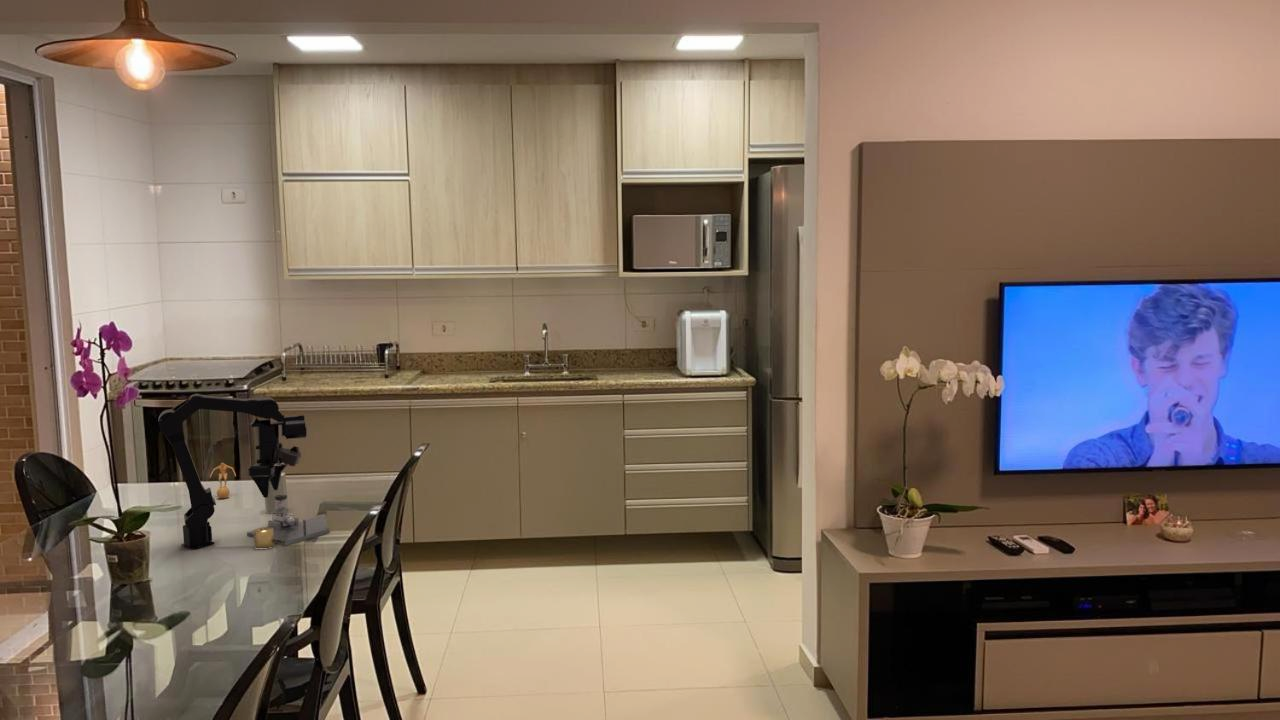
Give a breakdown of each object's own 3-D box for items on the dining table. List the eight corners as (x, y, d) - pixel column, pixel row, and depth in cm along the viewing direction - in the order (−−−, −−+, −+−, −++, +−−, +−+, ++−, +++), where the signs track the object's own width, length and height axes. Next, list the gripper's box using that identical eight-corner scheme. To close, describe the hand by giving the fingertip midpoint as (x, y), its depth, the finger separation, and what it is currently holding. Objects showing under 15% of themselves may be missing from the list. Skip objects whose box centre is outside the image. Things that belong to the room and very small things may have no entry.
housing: (262, 550, 258) (260, 532, 258) (251, 547, 261) (250, 529, 261) (277, 545, 263) (276, 527, 262) (267, 543, 265) (265, 525, 265)
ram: (287, 527, 275) (285, 499, 274) (272, 524, 279) (270, 496, 278) (298, 524, 279) (297, 496, 278) (284, 520, 282) (282, 493, 282)
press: (285, 545, 262) (284, 526, 262) (247, 536, 272) (245, 517, 272) (329, 532, 275) (328, 513, 274) (291, 523, 285) (290, 505, 284)
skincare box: (288, 509, 302) (286, 472, 301) (285, 512, 298) (283, 475, 296) (268, 510, 301) (265, 473, 300) (264, 514, 296) (262, 476, 295)
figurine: (209, 500, 315) (206, 465, 313) (212, 496, 320) (210, 462, 319) (235, 498, 317) (233, 464, 315) (238, 494, 322) (236, 460, 321)
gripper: (287, 446, 262) (289, 500, 264) (306, 434, 281) (308, 485, 282) (246, 447, 261) (249, 501, 263) (267, 435, 280) (270, 486, 281)
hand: (270, 493), depth 272 cm, fingers open, 9 cm apart
